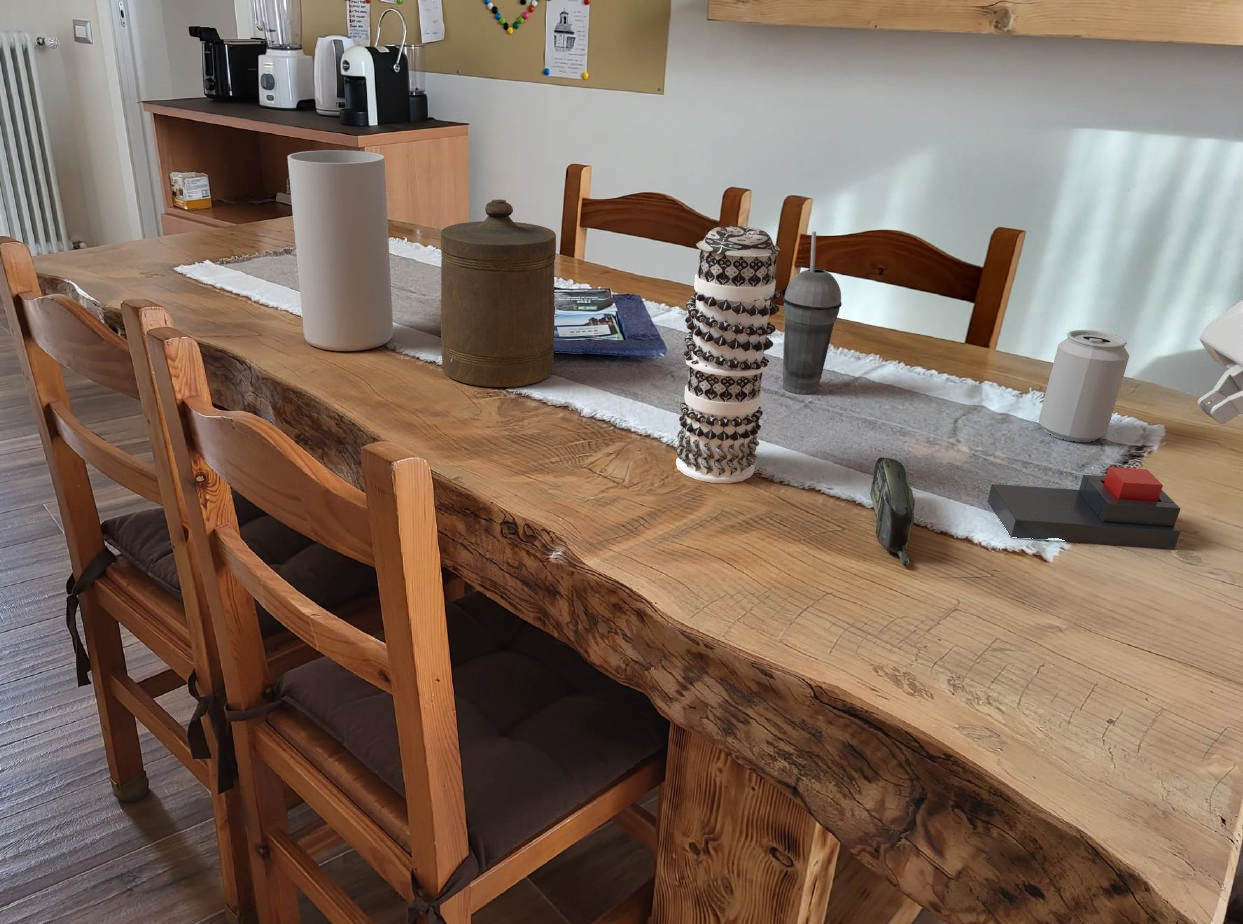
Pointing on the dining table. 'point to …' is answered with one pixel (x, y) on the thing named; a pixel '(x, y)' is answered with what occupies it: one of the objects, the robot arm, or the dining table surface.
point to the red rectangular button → (1132, 484)
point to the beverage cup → (808, 326)
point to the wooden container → (497, 300)
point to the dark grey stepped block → (1086, 515)
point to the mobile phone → (893, 506)
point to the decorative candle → (727, 354)
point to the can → (1084, 385)
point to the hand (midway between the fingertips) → (1207, 413)
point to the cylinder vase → (342, 248)
